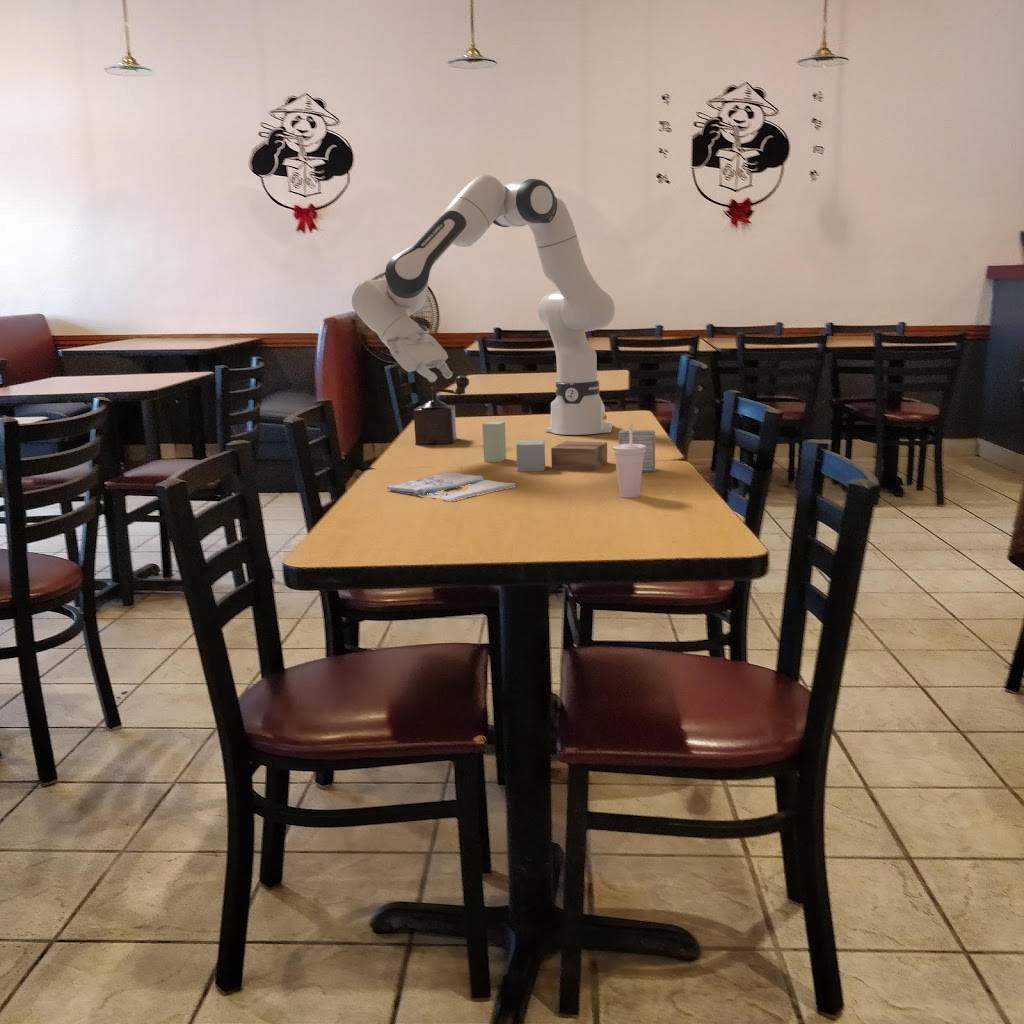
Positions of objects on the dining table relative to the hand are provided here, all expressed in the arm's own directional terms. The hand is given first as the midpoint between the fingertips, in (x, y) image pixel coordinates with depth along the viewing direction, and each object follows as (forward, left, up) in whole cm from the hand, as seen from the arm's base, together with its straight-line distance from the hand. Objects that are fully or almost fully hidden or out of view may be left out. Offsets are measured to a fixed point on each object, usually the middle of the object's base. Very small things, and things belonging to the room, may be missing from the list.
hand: (442, 378), depth 228 cm
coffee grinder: (-26, -11, -20) cm, 35 cm away
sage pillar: (0, +13, -20) cm, 23 cm away
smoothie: (+34, +53, -20) cm, 65 cm away
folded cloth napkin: (+33, +15, -20) cm, 42 cm away
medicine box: (+8, +49, -20) cm, 53 cm away
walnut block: (+4, +35, -20) cm, 40 cm away
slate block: (+9, +25, -20) cm, 33 cm away
